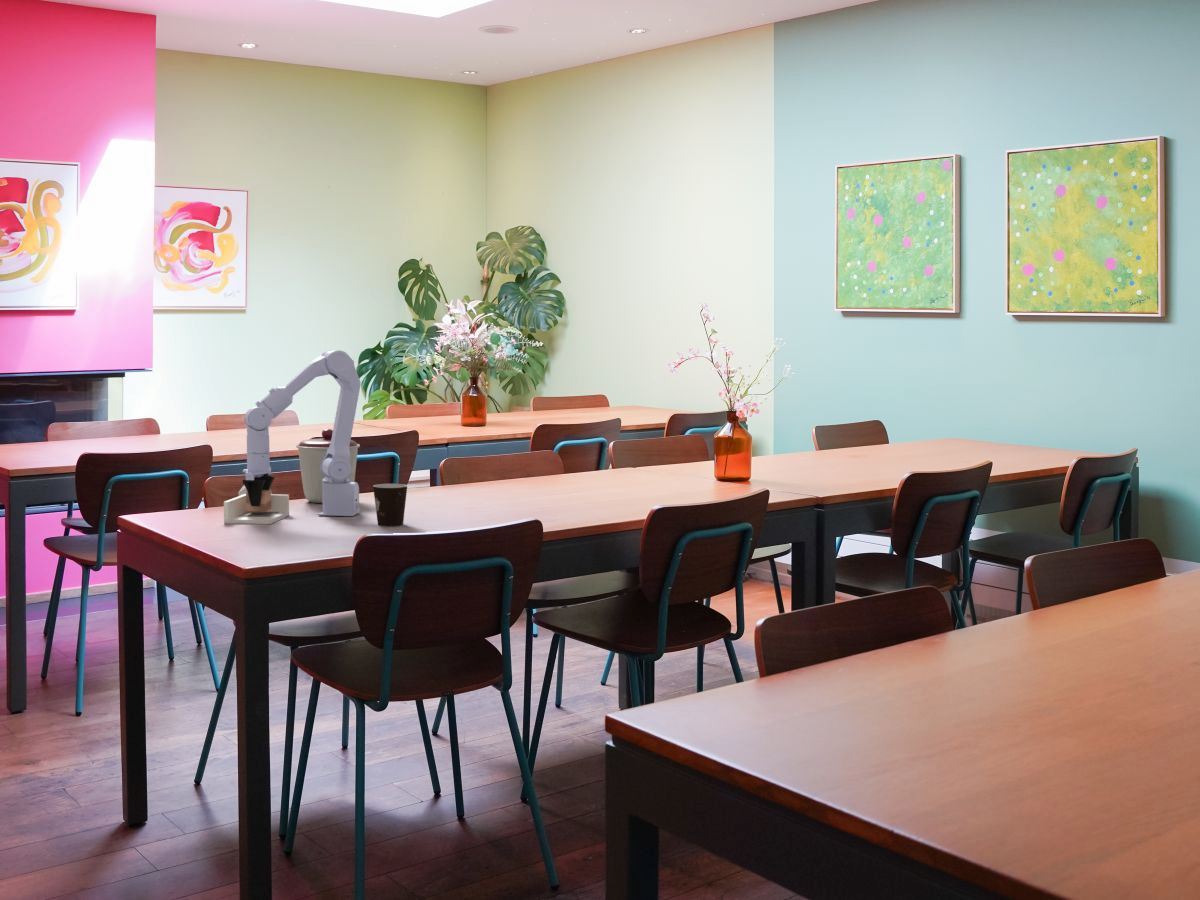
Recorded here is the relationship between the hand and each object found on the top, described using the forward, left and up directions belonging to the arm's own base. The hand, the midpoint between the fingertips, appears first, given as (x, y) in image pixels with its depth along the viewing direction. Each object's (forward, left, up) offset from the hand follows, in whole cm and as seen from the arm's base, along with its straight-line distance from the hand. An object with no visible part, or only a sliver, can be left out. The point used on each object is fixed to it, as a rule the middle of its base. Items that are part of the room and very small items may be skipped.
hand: (259, 504), depth 329 cm
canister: (-9, -34, -4) cm, 36 cm away
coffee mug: (-37, +8, -4) cm, 38 cm away
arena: (0, +2, -4) cm, 4 cm away
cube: (0, 0, -2) cm, 2 cm away
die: (+6, -15, -4) cm, 17 cm away
